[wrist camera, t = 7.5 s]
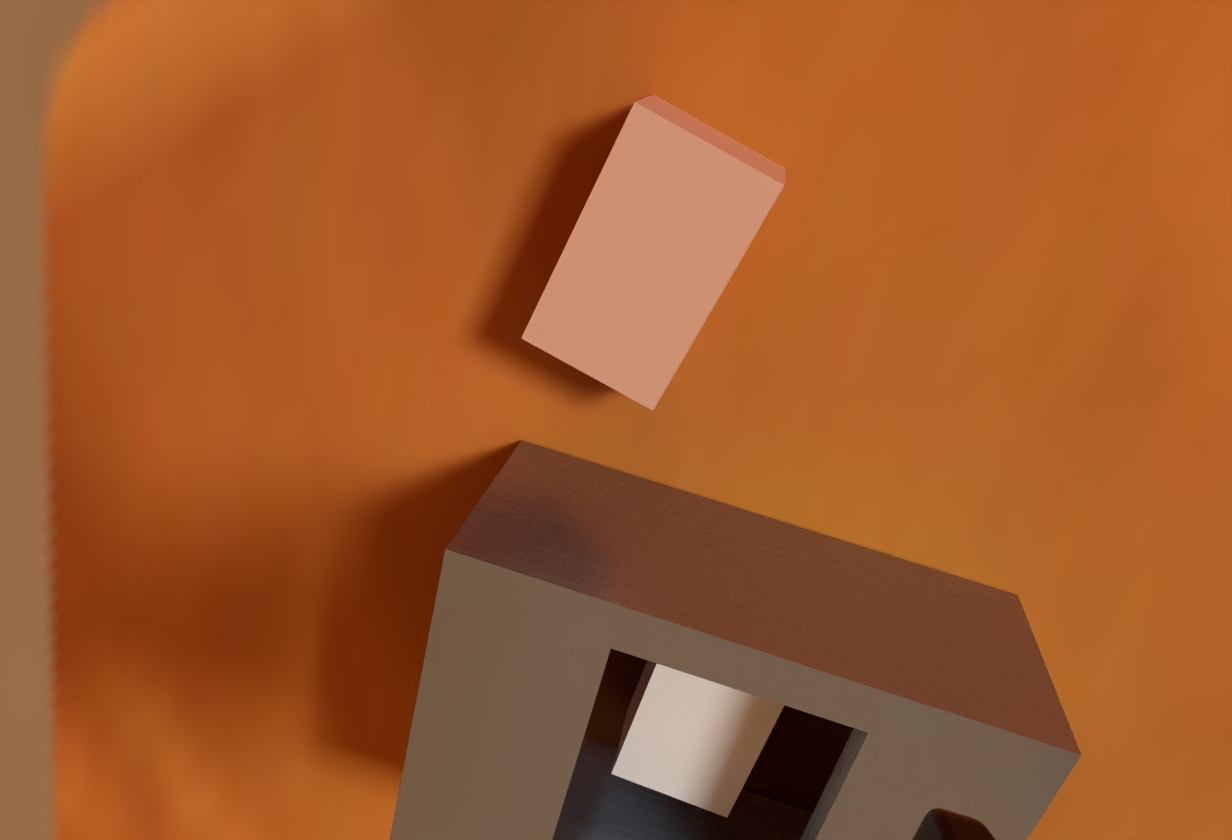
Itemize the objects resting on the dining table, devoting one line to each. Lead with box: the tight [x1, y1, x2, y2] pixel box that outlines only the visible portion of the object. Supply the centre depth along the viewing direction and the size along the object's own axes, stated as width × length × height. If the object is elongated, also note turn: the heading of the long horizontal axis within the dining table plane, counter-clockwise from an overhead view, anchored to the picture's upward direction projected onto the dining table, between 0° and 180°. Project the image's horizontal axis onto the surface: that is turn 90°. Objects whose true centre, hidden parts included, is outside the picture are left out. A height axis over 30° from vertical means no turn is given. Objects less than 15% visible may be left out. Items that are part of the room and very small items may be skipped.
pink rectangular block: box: [521, 95, 786, 410], centre depth 18 cm, size 3×5×2 cm, turn 153°
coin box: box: [390, 440, 1081, 840], centre depth 20 cm, size 12×9×5 cm
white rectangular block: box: [611, 660, 784, 817], centre depth 22 cm, size 3×5×2 cm, turn 163°
